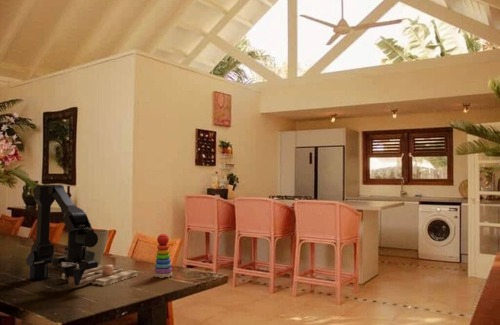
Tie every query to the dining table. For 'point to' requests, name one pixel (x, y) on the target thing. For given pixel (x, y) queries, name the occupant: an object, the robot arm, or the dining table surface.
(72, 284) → the strip
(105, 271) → the pink egg
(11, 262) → the dining table surface
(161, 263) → the stacking toy
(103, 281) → the lane board
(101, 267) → the strip
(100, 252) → the plant pot
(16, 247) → the dining table surface
